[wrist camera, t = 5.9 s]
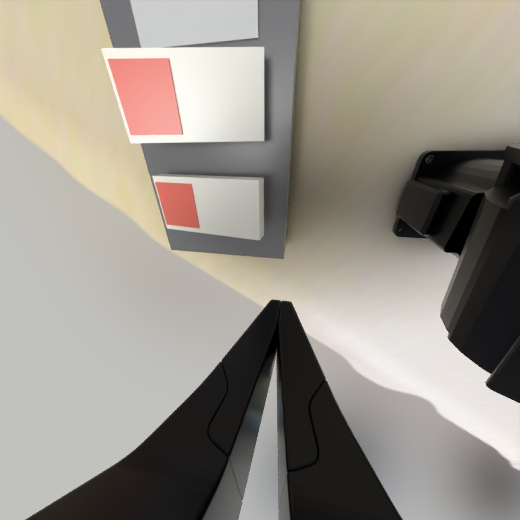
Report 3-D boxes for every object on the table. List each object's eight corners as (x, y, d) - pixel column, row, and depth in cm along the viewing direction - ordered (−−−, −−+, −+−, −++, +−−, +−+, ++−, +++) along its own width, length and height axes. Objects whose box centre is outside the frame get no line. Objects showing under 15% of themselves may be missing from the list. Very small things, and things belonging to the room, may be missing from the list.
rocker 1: (263, 54, 11) (264, 45, 10) (263, 141, 13) (264, 141, 12) (113, 55, 10) (99, 47, 9) (138, 142, 12) (129, 143, 12)
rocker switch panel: (308, -127, 9) (312, -263, 6) (285, 243, 20) (282, 263, 17) (112, -82, 11) (37, -170, 8) (186, 236, 22) (166, 253, 18)
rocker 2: (263, 177, 12) (258, 180, 12) (263, 234, 15) (259, 241, 14) (162, 173, 15) (151, 176, 14) (174, 224, 17) (166, 228, 16)
